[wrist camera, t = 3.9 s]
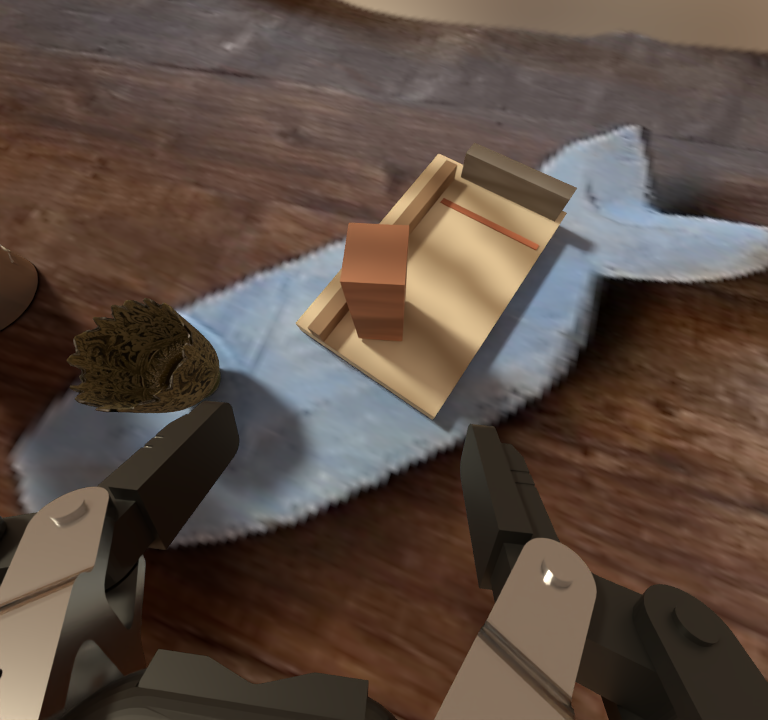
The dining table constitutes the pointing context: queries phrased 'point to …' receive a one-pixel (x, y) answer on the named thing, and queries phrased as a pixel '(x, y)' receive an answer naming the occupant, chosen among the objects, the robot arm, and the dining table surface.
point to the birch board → (449, 272)
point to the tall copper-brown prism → (376, 279)
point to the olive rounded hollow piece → (144, 361)
